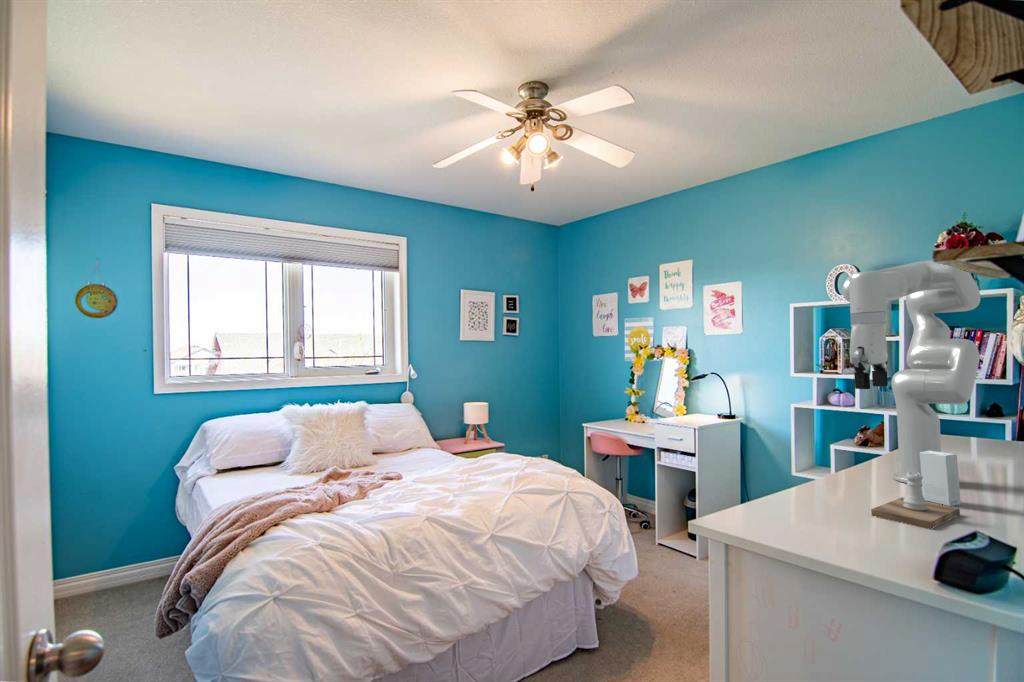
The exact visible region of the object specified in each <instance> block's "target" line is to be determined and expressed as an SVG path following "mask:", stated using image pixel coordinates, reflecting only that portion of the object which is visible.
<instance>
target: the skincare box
mask: <svg viewBox="0 0 1024 682" xmlns="http://www.w3.org/2000/svg"><path fill="white" fill-rule="evenodd" d="M920 462H921V474H922V477H923V479H922V486H921V487H922V494H923V497H924V498H925V499H924V500H925V501H926V502H929V501H930V502H929V503H935V504H940V505H942V504H943V505H945V506H950V507H955V505H957V506H960V505H961V493H960V492H961V491H960V489H961V488H960V477H959V465H958V455H957V454H956V453H949V452H942V451H941V452H936V451H924V452H920Z"/></svg>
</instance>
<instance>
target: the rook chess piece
mask: <svg viewBox="0 0 1024 682" xmlns="http://www.w3.org/2000/svg"><path fill="white" fill-rule="evenodd" d="M905 477H906V478H907V479H908V482H907V483H906V484H907V493H906V495H905V497H904V498H905V499H904V500H903V501H904V503H905V504H903V506H904V507H905V508H907V509H910V510H914V511H926V510H927V509H928V507H926V505H927V502H928V501H925V500H924V499H925V498H924V497H923V489H922V487H923V486H922V484H921V480H922V479H923V477H922V476H921V474H920V473H918V474H916V472H913V474H912V472H907V475H906V476H905Z"/></svg>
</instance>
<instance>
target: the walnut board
mask: <svg viewBox="0 0 1024 682" xmlns="http://www.w3.org/2000/svg"><path fill="white" fill-rule="evenodd" d="M905 498H906V497H904V496H903V497H899V498H897V499H894V500H892V501H888V502H886V503H884V504H882V505H879V506H876V507H873V508H871V513H870V514H871V515H870V516H871V517H874V516H876V517H875V518H879V517H880V518H879V519H883V518H884V520H888V519H889V521H892V520H893V521H892V522H896V521H898V522H897V523H901V522H903V523H902V524H905V523H907V524H906V525H910V524H911V525H910V526H914V525H915V526H914V527H919V528H923V527H925V528H924V529H927V528H930V529H929V530H932V529H931V528H933V527H935V526H937V525H939V524H941V523H943V522H945V521H947V520H949V519H951V518H953V517H955V516H957V517H958V515H959V516H960V515H961V511H960V508H959V507H957V506H956V507H955V506H947V505H942V504H938V503H934V502H929V501H926V502H927V505H926V507H928V509H927V510H926V511H914V510H910V509H907V508H905V507H904V506H903V504H905V503H904V501H903V500H904V499H905ZM955 518H956V517H955ZM953 519H954V518H953ZM951 520H952V519H951ZM949 521H950V520H949ZM947 522H948V521H947ZM945 523H946V522H945ZM943 524H944V523H943ZM941 525H942V524H941ZM939 526H940V525H939ZM937 527H938V526H937ZM935 528H936V527H935ZM933 529H934V528H933Z"/></svg>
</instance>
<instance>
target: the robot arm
mask: <svg viewBox="0 0 1024 682" xmlns="http://www.w3.org/2000/svg"><path fill="white" fill-rule="evenodd" d="M933 260H934V259H930V260H928V259H927V260H921V261H916V262H915V261H914V262H911V263H906V264H902V265H897V266H893V267H888V268H884V269H880V270H866V271H865V270H864V271H860V272H855V273H852V274H851V275H849V276H848V277H847V278H846V279H845V281H844V282H843V285H842V287H841V290H842V291H841V292H842V297H844V299H845V300H846V301H847V302H849V311H850V327H851V330H850V341H849V342H850V343H849V355H850V356H849V359H850V361H849V362H850V364H851V366H852V367H853V369H852V370H853V373H854V377H853V378H854V388H855V390H870V389H871V380H872V386H873V387H882V388H883V387H884V388H887V387H888V383H889V382H888V366H887V365H888V357H889V355H888V345H887V337H886V336H887V335H886V328H885V326H887V325H888V321H887V320H888V319H887V318H888V317H887V316H888V315H887V303H886V302H888V301H889V302H890V301H896V300H900V299H902V298H903V297H905V305H906V309H907V313H908V317H909V319H910V321H911V325H912V327H913V334H912V336H911V340H910V343H909V347H908V350H907V353H906V359H905V360H906V365H907V366H908V367H909V368H906V369H901V370H899V371H896V372H895V373H894V374H893V376H892V378H891V381H890V382H891V383H890V384H891V389H892V394H893V398H894V401H895V407H896V422H897V445H898V447H897V448H898V449H897V450H898V468H899V469H898V471H897V472H894V473H893V474H892V478H893V479H894V480H896V481H898V482H901V483H905V484H907V482H908V479H907V478H906V477H905V476H906V475H907V472H912V474H913V472H916V474H918V473H920V474H921V462H920V452H924V451H936V452H942V441H941V440H942V439H941V421H940V417H939V415H938V414H937V413H936V412H935V410H934V409H933V408H932V407H931V406H930V404H932V405H933V404H935V405H936V404H939V405H954V406H955V405H959V406H960V405H964V404H966V403H968V402H969V401H970V399H971V398H972V395H973V391H974V386H975V381H976V379H977V378H976V377H977V374H978V369H979V363H980V352H979V348H978V346H977V345H976V343H975V342H974V341H972V340H970V339H966V338H950V337H951V328H950V327H949V326H948V325H947V324H946V322H944V321H943V320H942V319H941V318H939V317H937V316H935V314H940V313H942V314H943V313H954V312H955V313H957V312H958V313H959V312H968V311H972V310H974V309H976V308H978V306H979V305H980V302H981V291H980V289H979V286H978V285H977V283H976V281H975V279H974V277H973V276H972V274H971V272H970V271H969V272H970V273H969V272H965V271H963V270H960V269H957V268H955V267H952V266H948V265H943V264H938V263H935V262H933ZM870 366H871V367H872V369H873V370H871V374H872V375H870V372H869V370H870ZM870 376H872V377H870ZM871 378H872V379H871ZM921 476H922V474H921ZM921 484H922V480H921Z"/></svg>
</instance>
